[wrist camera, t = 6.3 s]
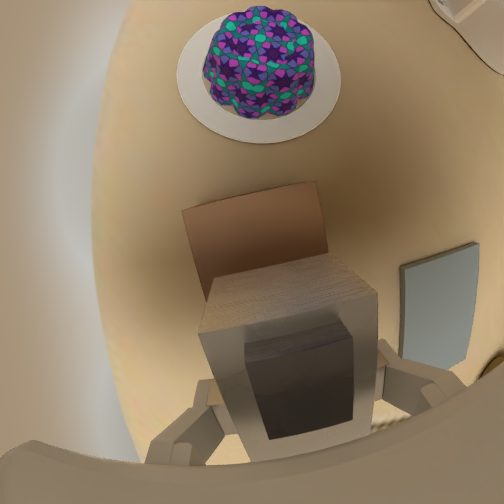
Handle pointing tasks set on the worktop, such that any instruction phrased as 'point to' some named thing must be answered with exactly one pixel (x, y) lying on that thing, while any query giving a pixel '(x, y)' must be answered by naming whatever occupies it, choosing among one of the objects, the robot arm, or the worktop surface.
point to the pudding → (259, 75)
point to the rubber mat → (439, 306)
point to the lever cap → (294, 354)
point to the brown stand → (255, 231)
